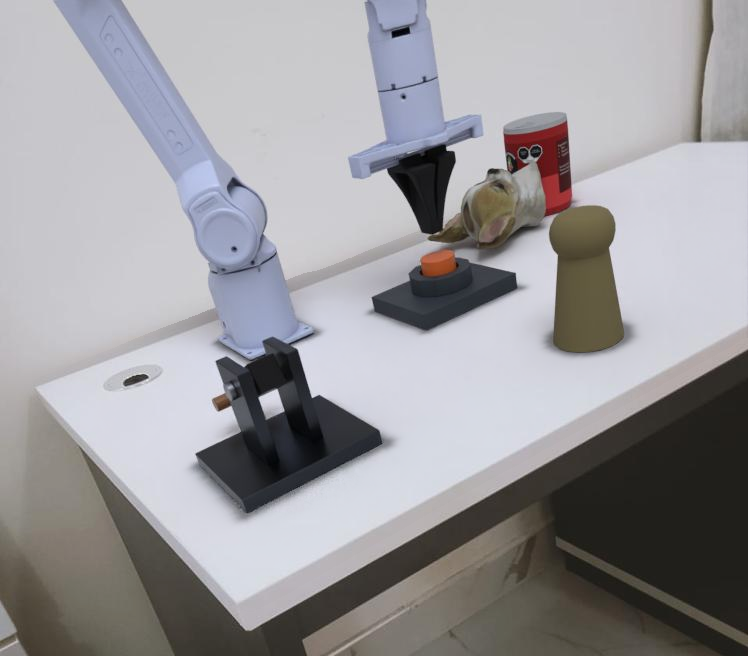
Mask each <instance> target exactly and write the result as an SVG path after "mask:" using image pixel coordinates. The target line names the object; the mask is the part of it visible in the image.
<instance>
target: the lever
mask: <svg viewBox="0 0 748 656" xmlns="http://www.w3.org/2000/svg"><path fill="white" fill-rule="evenodd" d="M244 367H245V368H246V369H248V370H249V371H250V374H251V377H252V380H253V383H254V386H255V389H256V391H257V394H258V397H259V398H261V397H263V396H265V395H267V394H270V393H271V392H274V391H276V390H278V388H279V387H281V386H282V385H284V384H285V383H287V381H286V379H285V377H284V375H283V373H282V370H281V368H280V366H279V364H278V362H277V360H276V358H275V356H274V354H273V353H271V354H269V355H266V354H265V355H264V356H261V357H259V358H256V359H255V360H253V361H251V362H248V363H247V364H245V365H244ZM211 402H212V405H213V408H214V409H215V411H216V412H222V411H224V410H226V409H228V408H230V407H232V406H231V403H230V401H229V398H228V397H227V395H226V393H225V392H224V393H222V394H219V395H217V396H215V397H213V398H212V399H211Z"/></svg>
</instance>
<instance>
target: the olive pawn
mask: <svg viewBox="0 0 748 656" xmlns="http://www.w3.org/2000/svg"><path fill="white" fill-rule="evenodd" d="M616 228H617V227H616V220H615V217H614V215H613V213H612V212H611V211H610V209H609V208H608V207H604V206H602V205H596V204H595V205H593V204H590V205H589V204H588V205H587V204H586V205H580V206H575V207H571V208H567V209H564V210H563V211H560V212H559V213H557V215H556V216H554V217H553V219H552V221H551V223H550V225H549V231H548V237H549V242H550V245H551V248H552V250H553V252H554V253H555V254H556V255H557V263H556V280H555V281H556V282H555V297H554V298H555V299H554V317H553V335H552V342H553V345H554V346H555V347H556V348H558V349H559V350H562V351H565V352H569V353H590V352H597V351H601V350H604V349H608V348H610V347H613V346H615V345H617V344H618V343H619V342H621V341H622V340H623V338H624V335H625V329H624V324H623V318H622V312H621V307H620V302H619V296H618V295H619V294H618V290H617V285H616V279H615V274H614V266H613V261H612V257H611V251H610V247H611V245H612V244H613V242H614V239H615V235H616V230H617V229H616Z"/></svg>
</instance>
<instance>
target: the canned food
mask: <svg viewBox="0 0 748 656" xmlns="http://www.w3.org/2000/svg"><path fill="white" fill-rule="evenodd" d="M502 129H503V131H502V134H503V135H502V136H503V145H504V154H505V162H506V170H507V171H509V172H510V173H511V175H513V174H514V173H515V172H517V171H519V170H520V169H522V168H524V167H526V166H528V165H529V164H530V163H531V162H533V161H535V162H536V164H537V166H538V170H539V172H540V176H541V183H542V187H543V191H544V194H545V204H546V212H545V215H544V217H546V216H550V215H554V214H558V213H561V212H563V211H565V210H567V209H569V207H570V206H571V204H572V201H573V187H572V170H571V169H572V168H571V153H570V137H569V136H570V135H569V124H568V117H567V113H566V112H562V111H553V112H552V111H550V112H543V113H538V114H533V115H528V116H525V117H521V118H518V119H515V120H512V121H510V122H508V123H506V124H504V126H503V128H502Z"/></svg>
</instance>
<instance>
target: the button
mask: <svg viewBox="0 0 748 656" xmlns="http://www.w3.org/2000/svg"><path fill="white" fill-rule="evenodd" d="M455 257H456V256H455V252H454V250H451V249H442V250H434V251H432V252H429V253H426V254H424V255H423V256H421V257H420V258H419V261H420V265H421V268H422V273H423V276H439V275H443V274H447V273H449V272H452V271H454V270H456V269H457V268H456V262H455Z"/></svg>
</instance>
